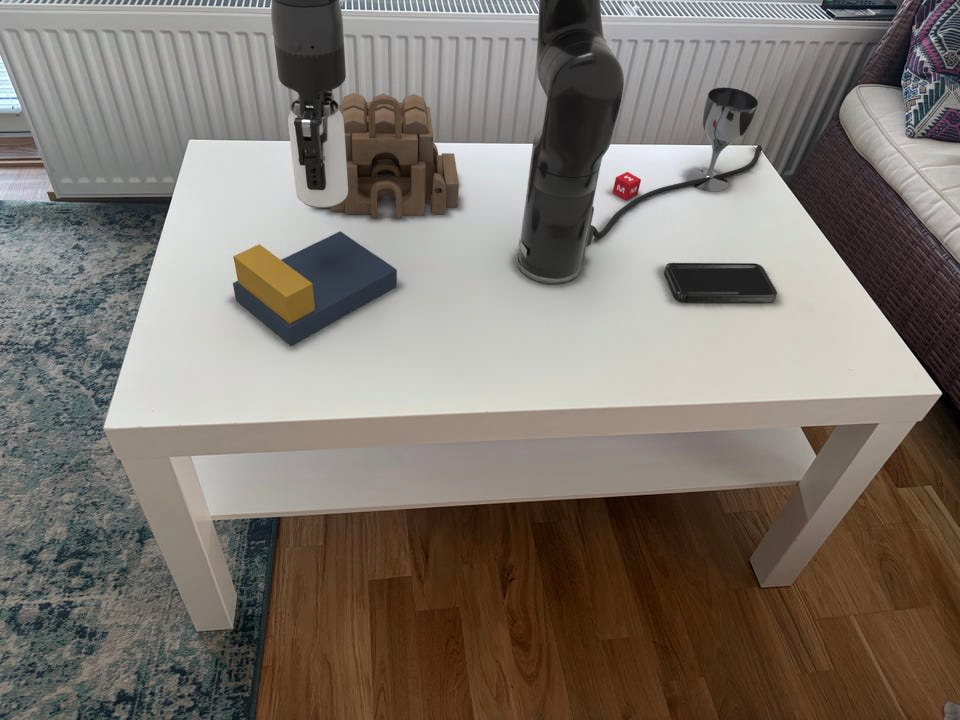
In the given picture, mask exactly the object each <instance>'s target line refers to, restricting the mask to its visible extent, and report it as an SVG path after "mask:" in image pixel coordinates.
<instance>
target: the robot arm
mask: <svg viewBox="0 0 960 720" xmlns="http://www.w3.org/2000/svg"><path fill="white" fill-rule="evenodd" d="M270 6H271V8H270V13H271V14H270V16H271V27H272V35H273V45H274V52H275V61H276V69H277V78H278V80H279V82H280V83H281V84H282V85H283V86H284V87H285V88H288V89H289V90H292V91H294V92H296V93H297V99H299V100H296V99H295V100H294V101H295V114H296V115H297V118H295V121H294V126H295V131H296V139H297V146H298V154H299V162H300V165H303V166H305V170H306V180H307V187H308V189H310V190H324V189H325V188H326V174H325V159H326V157H325V148H324V144H325V143H326V142H327V141H328V117H329V115H330V114H331V105H333V101H334V100H335V99H334V98H335V95H334V91H333V90H336V89H338V88H339V87H341V86H342V85H343V83H344V82H345V81H346V77H347V74H346V73H347V72H346V71H347V70H346V53H345V52H346V51H345V37H344V36H345V35H344V18H343V12H342V7H341V1H340V0H271V5H270ZM537 22H538V24H537V26H538V27H537V42H536V43H537V44H536V45H537V46H536V73H537V77H538V81H539V84H540V87H541V88H542V90H543V92H544V94H545V96H546V97H547V99H546V107H545V114H544V119H543V125H542V129H540V130H539V131H538V132H537V133H536V134H535V136H534V138H533V140H532V141H533V142H532V147H531V156H530V163H529V170H528V178H527V187H526V194H525V201H524V209H523V217H522V224H521V233H520V238H519V239H518V252H517V256H516V265H517V267H518V269H519V270H520V272H521V273H522V274H524V275H525V276H526V277H528V278H529V279H531V280H532V281H533V280H534V281H536V282H539V283H544V284H550V285H551V284H553V285H554V284H555V285H557V284H564V283H568V282H570V281H572V280H574V279H575V278H576V277H578V275H579V274H580V272H581V268H582V263H584V261H585V257H586V251H587V248H588V247H589V246H590V245H592V241H593V237H594V238H595V239H600V238H603V237H604V236H606V235H607V234H608V233H609V232H610V231H611V229H612V228H613V226H614V225H615V224H616V222H617V221H618V220H619V218H621V216H623V215H624V214H626V213H627V212H628V211H629V210H631V209H632V208H633V207H635V206H636V205H638V204H639V203H642V202H643V201H646V200H647V199H650V198H652V197H654V196H657V195H660V194H663V193H668V192H670V191H676V190H679V189H684V188H688V187H691V186H693V185H697V184H701V183H704V182H706V181H709V180H710V179H712V178H710V177H706V178H701V179H695V180H691V181H688V180H686V181H682V182H678V183H674V184H670V185H666V186H662V187H659V188H656V189H652V190H650V191H648V192H646V193H643V194H642V195H639V196H637V197H636V198H634V199H632V200H631V201H630V202H628V203H627V204H625V205H624V206H622V207H621V208H620V209H618V211H616V212H615V213H614V214H613V216H611V218H610V220H609V221H608V222H607V224H606V225H605V226H604V227H603V229H602V230H600V231H599V230H598V228H597V227H595V226H594V225H592V223H593V218H594V211H595V207H594V201H595V195H596V191H597V185H598V179H599V175H600V170H601V165H602V161H603V157H604V156H605V154H606V153H607V152H608V150H609V148H610V146H611V144H612V140H613V136H614V132H615V128H616V124H617V120H618V117H619V113H620V109H621V103H622V99H623V94H624V85H625V82H624V81H625V76H624V70H623V67H622V65H621V62H620V61H619V60H618V58H617V56H616V55H615V53H614V52H613V51H612V49H611V48H610V46H609V45H608V43H607V42H606V39H605V35H604V30H603V29H604V28H603V20H602V5H601V0H538V21H537ZM298 115H301V117H302V118H301V117H299V116H298ZM323 116H327V117H326V118H323V133H322V134H321V135H320V131H319V130H320V125H321V123H322V117H323ZM308 149H312V150H315V151H316V152H308ZM762 151H763V147H762V145H759V144H758V145H757V146H756V148H755V151H754V156H753V158H752V159H751V161H750V162H748V164H746V165H744V166H742V167H739V168H737V169H733V170H730V171H726V172H723V173H718V174H719V175H715V176H713V178H714V179H723V178H726V179H727V178H730V177H733V176H736V175H739V174H742V173H745V172H746V171H749V170H751V169H752V168H753V167H755V165H756V164H757V162H758V160H759V158H760V155H761V152H762Z"/></svg>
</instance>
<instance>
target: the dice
mask: <svg viewBox="0 0 960 720" xmlns="http://www.w3.org/2000/svg"><path fill="white" fill-rule="evenodd" d="M641 182H642V178H639V177H638V176H636V175H634V174H632V173H631V172H629V171H626V172H623V173H622V174H619V175H618V176H616V177H615V180H614V183H613V184H614V185H613V189H612V194H614V195H615V196H617V197H618V198H620V199H622V200H624V201H625V202H626V201H628V200H631V199H633V198H634V197H636V196H638V195H639V190H640V185H641Z"/></svg>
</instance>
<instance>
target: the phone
mask: <svg viewBox="0 0 960 720" xmlns="http://www.w3.org/2000/svg"><path fill="white" fill-rule="evenodd" d="M663 273H664V277H665V279H666V281H667V283H668V286H669V288H670V291H671V293H672V296H673V298H674V300H676V301H677V302H679V303H773V302H774V301H775V300H776V297H777V295H778V291H777V289H776V287H775V286H774V284H773V282H772V280H771V279H770V276H769V275H768V273H767V272H766V270H765V267H763V266H762V265H761V264H759V263H754V262H753V263H752V262H751V263H750V262H749V263H748V262H740V263H739V262H669V263H667V264H666V265H665V267H664V271H663Z"/></svg>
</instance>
